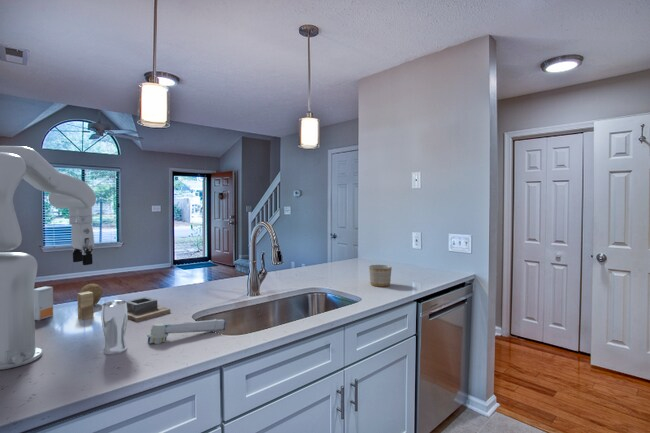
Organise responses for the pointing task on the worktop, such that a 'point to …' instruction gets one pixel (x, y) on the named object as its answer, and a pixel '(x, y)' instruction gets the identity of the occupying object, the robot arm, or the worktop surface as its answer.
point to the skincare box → (43, 302)
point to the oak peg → (85, 305)
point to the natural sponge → (96, 292)
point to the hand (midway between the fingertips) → (82, 263)
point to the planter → (380, 275)
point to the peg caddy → (144, 309)
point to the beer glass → (114, 326)
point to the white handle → (183, 329)
